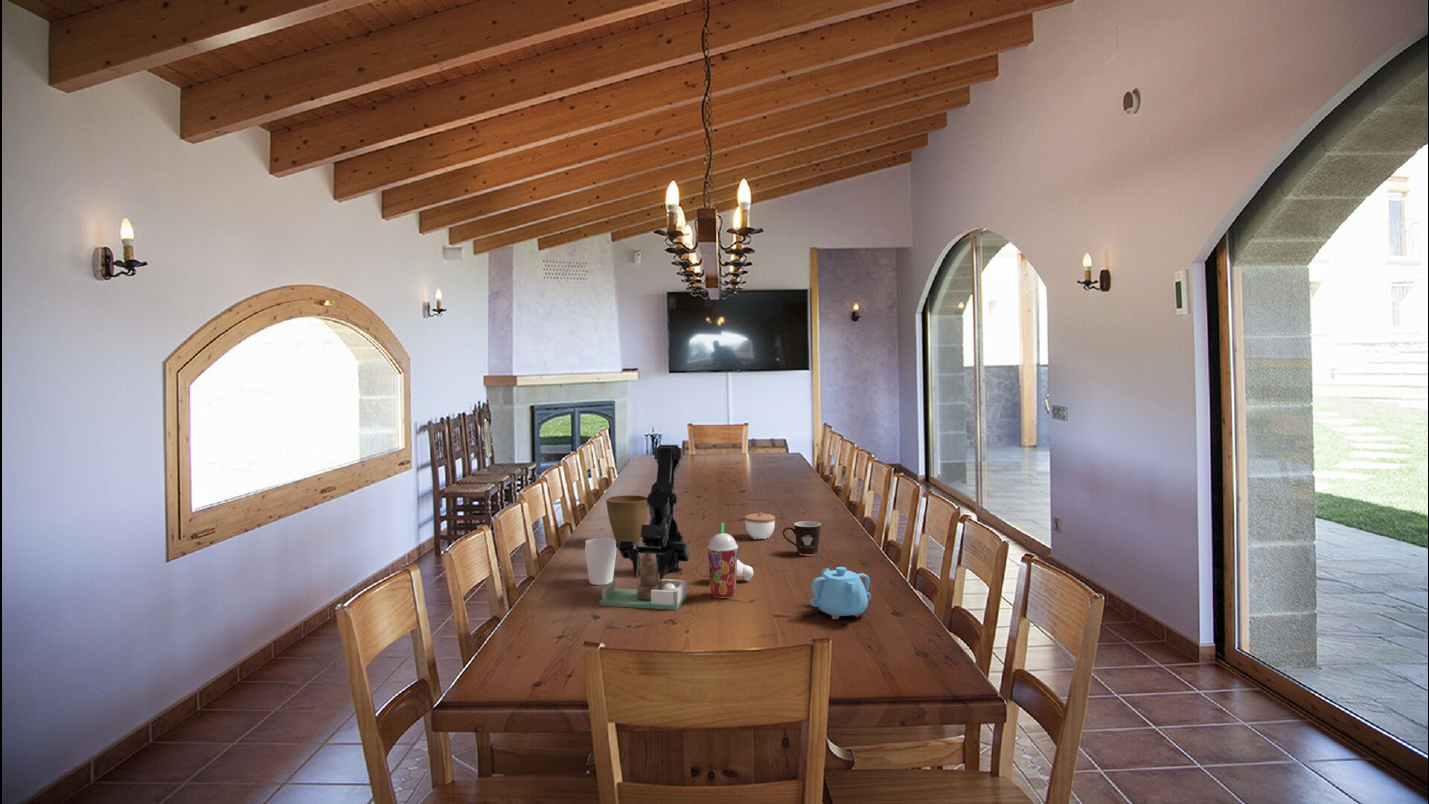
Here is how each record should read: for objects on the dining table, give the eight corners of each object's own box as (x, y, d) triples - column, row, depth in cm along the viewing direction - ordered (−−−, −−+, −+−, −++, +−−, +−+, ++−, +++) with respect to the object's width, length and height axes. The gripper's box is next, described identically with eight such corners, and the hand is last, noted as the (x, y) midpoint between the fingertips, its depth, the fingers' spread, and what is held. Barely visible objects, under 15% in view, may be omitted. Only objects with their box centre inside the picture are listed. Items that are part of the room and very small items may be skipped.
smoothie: (742, 592, 221) (741, 521, 220) (733, 601, 213) (732, 527, 212) (713, 590, 224) (713, 519, 222) (703, 598, 216) (702, 525, 215)
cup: (610, 587, 227) (610, 545, 227) (580, 585, 229) (580, 544, 228) (620, 578, 236) (620, 538, 235) (591, 576, 238) (591, 536, 237)
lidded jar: (743, 540, 282) (743, 514, 281) (747, 534, 292) (747, 508, 292) (773, 541, 280) (773, 515, 280) (776, 535, 291) (776, 509, 290)
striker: (637, 599, 212) (636, 555, 211) (643, 592, 218) (643, 549, 217) (655, 600, 211) (654, 556, 210) (661, 593, 217) (661, 550, 216)
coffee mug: (824, 553, 264) (825, 523, 263) (813, 558, 257) (813, 528, 256) (793, 548, 270) (793, 519, 270) (781, 554, 263) (781, 524, 262)
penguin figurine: (713, 549, 235) (754, 552, 235) (711, 577, 235) (751, 581, 235) (713, 554, 228) (755, 558, 229) (711, 583, 229) (752, 587, 229)
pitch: (599, 605, 211) (599, 588, 211) (614, 591, 223) (614, 576, 222) (676, 610, 206) (676, 592, 206) (687, 596, 218) (687, 579, 218)
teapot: (888, 622, 196) (888, 574, 195) (826, 629, 191) (826, 580, 191) (852, 598, 215) (852, 555, 215) (794, 604, 211) (794, 560, 210)
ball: (673, 580, 215) (672, 595, 216) (659, 582, 214) (659, 596, 214) (679, 585, 212) (679, 599, 212) (666, 586, 210) (665, 601, 210)
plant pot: (647, 548, 272) (646, 502, 271) (603, 548, 272) (602, 502, 271) (651, 538, 286) (650, 494, 286) (609, 538, 287) (609, 494, 286)
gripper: (620, 510, 219) (606, 560, 208) (686, 513, 215) (676, 564, 205) (629, 532, 227) (617, 582, 217) (693, 535, 223) (684, 585, 213)
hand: (647, 578), depth 212 cm, fingers open, 7 cm apart
